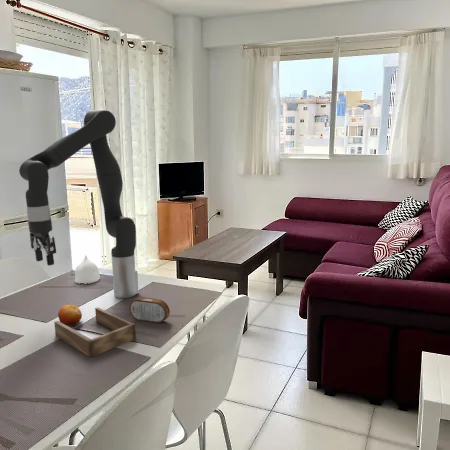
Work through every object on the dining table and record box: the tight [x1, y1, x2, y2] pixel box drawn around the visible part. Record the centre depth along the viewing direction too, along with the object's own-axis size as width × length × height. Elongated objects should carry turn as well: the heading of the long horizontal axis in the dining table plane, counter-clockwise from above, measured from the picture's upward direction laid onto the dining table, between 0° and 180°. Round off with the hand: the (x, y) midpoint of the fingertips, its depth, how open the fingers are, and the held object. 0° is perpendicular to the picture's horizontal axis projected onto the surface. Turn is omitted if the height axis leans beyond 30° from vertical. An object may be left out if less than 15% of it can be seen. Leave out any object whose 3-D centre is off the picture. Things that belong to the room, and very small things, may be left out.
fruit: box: [57, 304, 83, 327], centre depth 153 cm, size 8×8×8 cm
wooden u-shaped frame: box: [54, 307, 137, 358], centre depth 142 cm, size 16×22×5 cm
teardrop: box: [74, 255, 101, 285], centre depth 200 cm, size 11×11×12 cm
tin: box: [129, 296, 171, 324], centre depth 154 cm, size 15×3×8 cm, turn 71°
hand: (45, 262), depth 154 cm, fingers open, 8 cm apart
